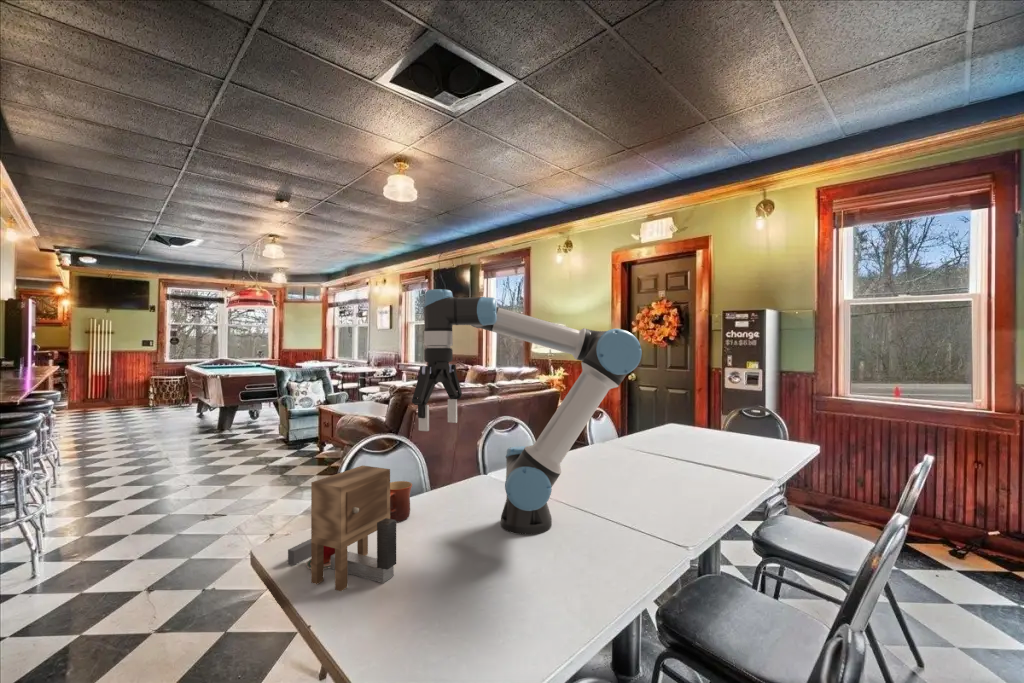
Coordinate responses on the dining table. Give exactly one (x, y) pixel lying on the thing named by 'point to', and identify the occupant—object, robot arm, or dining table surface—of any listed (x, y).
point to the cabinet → (346, 516)
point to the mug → (400, 500)
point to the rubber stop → (299, 553)
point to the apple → (325, 557)
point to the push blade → (386, 555)
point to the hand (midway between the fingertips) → (438, 426)
